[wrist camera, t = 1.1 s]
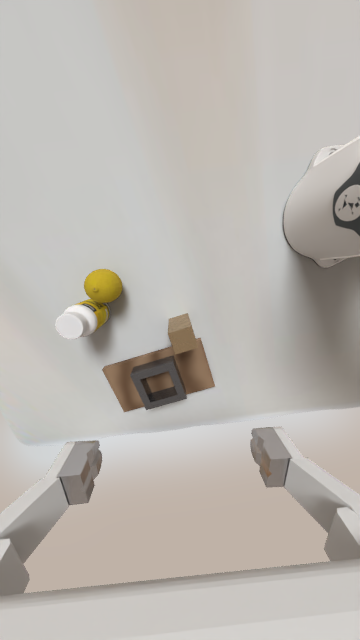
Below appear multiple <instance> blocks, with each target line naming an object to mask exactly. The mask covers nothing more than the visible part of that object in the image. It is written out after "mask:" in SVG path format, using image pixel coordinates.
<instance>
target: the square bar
mask: <svg viewBox="0 0 360 640" xmlns="http://www.w3.org/2000/svg"><path fill="white" fill-rule="evenodd" d="M168 335H169V338H170V341H171V344H172V346H173V349H174V352H175V355H176V354H179V353H182V352H186V351H189V350H192V349H196V348H198V345H197V342H196V338H195V335H194V332H193V329H192V325H191V322H190V319H189V316H188V313H187V314H183V315H180V316H177V317H174V318H171V319H169V325H168Z"/></svg>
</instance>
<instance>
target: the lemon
mask: <svg viewBox="0 0 360 640" xmlns="http://www.w3.org/2000/svg"><path fill="white" fill-rule="evenodd" d="M84 289H85V292H86V294H87V295H88V296H89V297H90V298H91V299H92V300H94V301H96V302H99V303H108V302H112V301H114V300H115V299H117V298H118V297H119V295H120V294H121V291H122V282H121V279H120V278H119V276H118V275H117V274H115V273H114V272H112V271H110V270H106V269H98V270H95V271H93V272H92V273H90V274H89V275H88V276H87V277H86V279H85V282H84Z"/></svg>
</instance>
